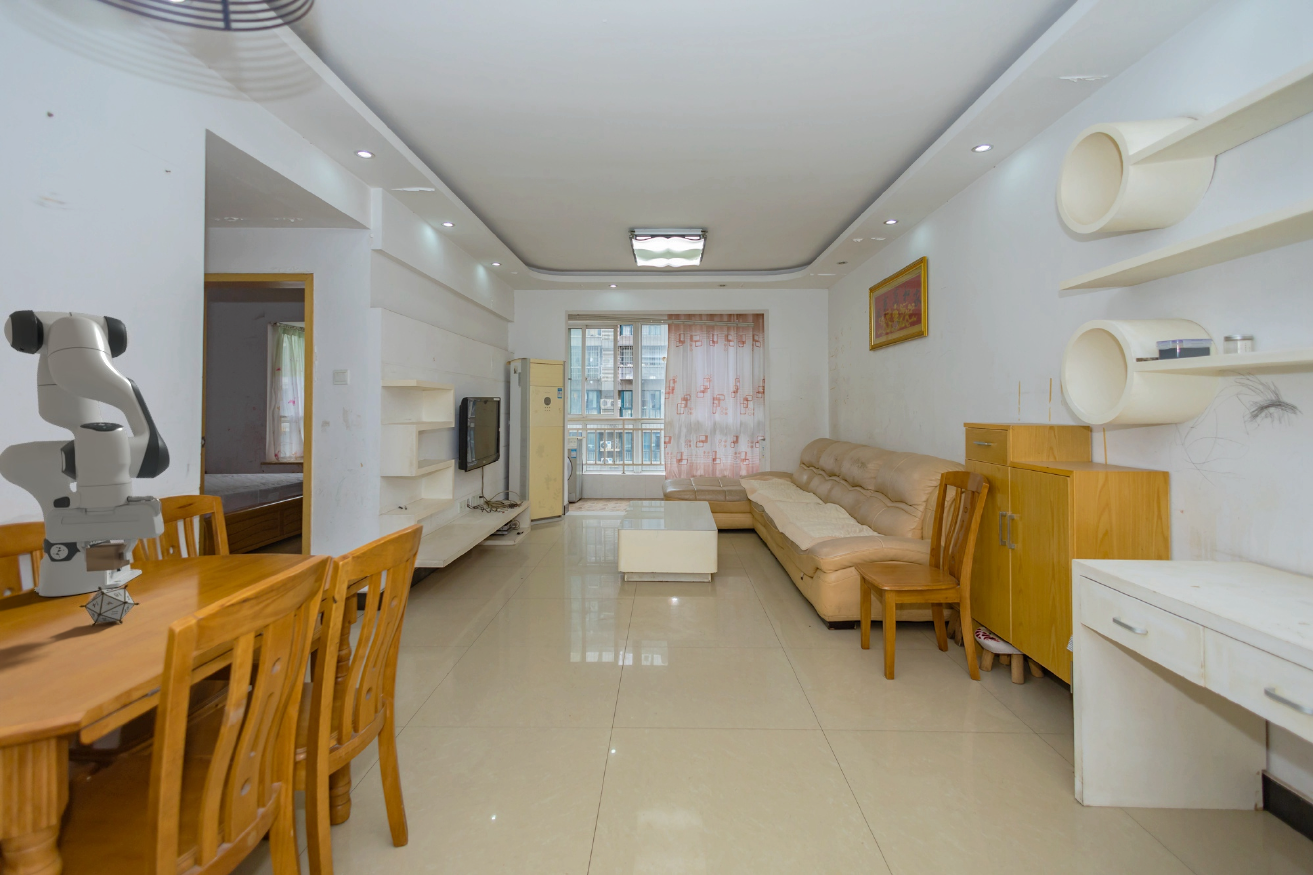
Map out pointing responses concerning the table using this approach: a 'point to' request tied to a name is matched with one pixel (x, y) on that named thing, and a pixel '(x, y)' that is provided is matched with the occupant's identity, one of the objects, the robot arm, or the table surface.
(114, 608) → the game die
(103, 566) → the walnut cube
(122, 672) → the table surface
